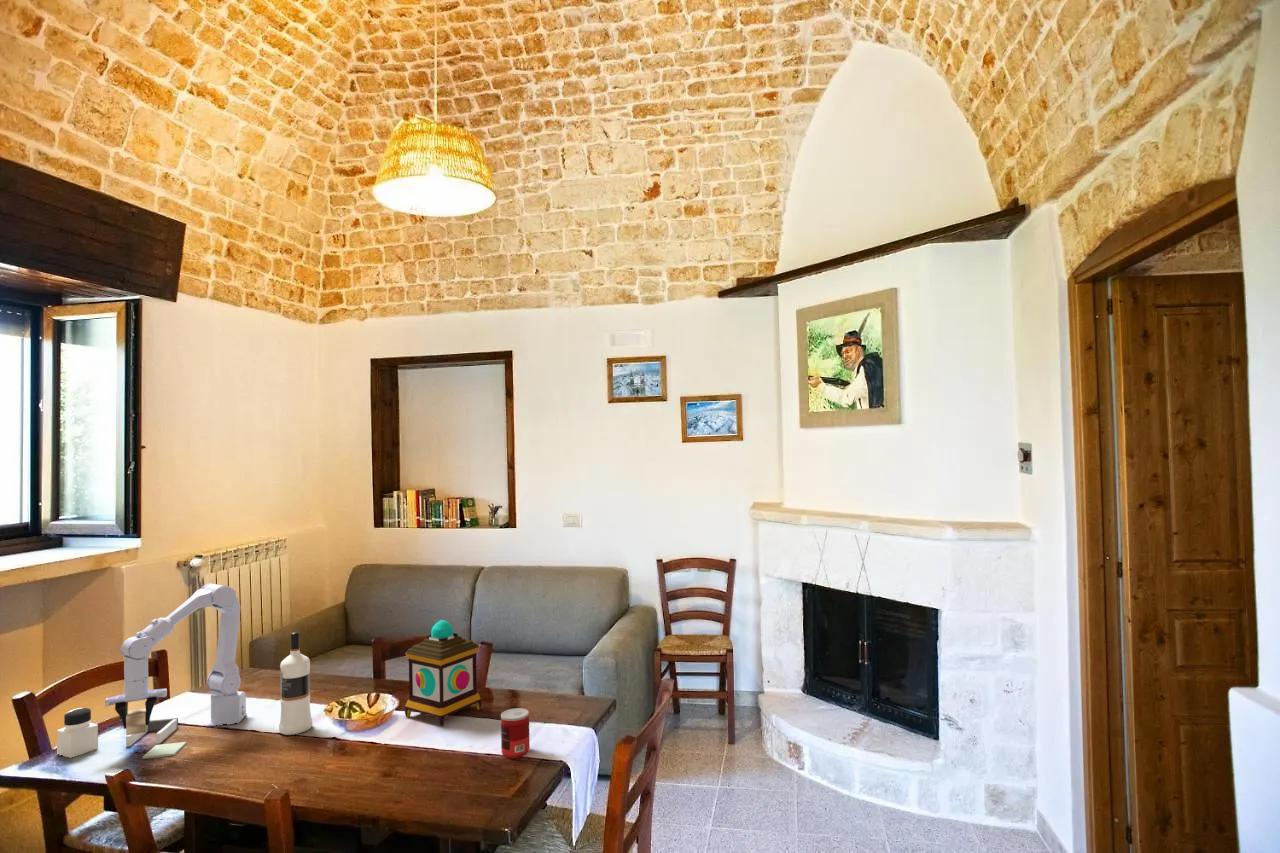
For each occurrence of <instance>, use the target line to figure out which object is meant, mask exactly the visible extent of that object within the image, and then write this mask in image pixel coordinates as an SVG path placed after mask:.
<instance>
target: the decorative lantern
mask: <svg viewBox="0 0 1280 853" xmlns="http://www.w3.org/2000/svg"><path fill="white" fill-rule="evenodd" d="M430 632H431V634H430V635H427V637H426V638H424V639H423V640H422V641H420V642H419V643H417V644H414V645H412V646H411V647H410V648H408V649H407V651H405V652H404V654H405V656H406V658H407V659H408V660H407V661H408V690H409V691H408V692H409V693H408V699H407V702H406V704H405V706H404V714H405V717H407V718H409V717H411V715H412V712H416V713H419V714H424V715H428V716H431V717H434V718H436V719H438V723H439V724H438V725H439V727H444V725H445V719H446V717H447V716H450V715H452V714H455V713H457V712H459V711H461V710H463V709H466V708H468V707H471V706H473V705H475V708H476V709H477V710H479V711H480V710H481V709H482V698H481V696H480V694H479V692H478V689H477V688H478V686H477V684H478V683H477V655H478V654H477V653H478V651H479V649H480V646H479V645H478V644H477V643H476V642H473V640H470V639H469V640H468V639H466V638H463V637H461V636H459V635H458V633H455V632H454V628H453V626H452V624H450V622H449V621H447V620H443V619H440V620H439V621H437V622H436V623H435V624H434V625H433V627H432V628H431V631H430Z"/></svg>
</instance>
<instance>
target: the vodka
mask: <svg viewBox="0 0 1280 853" xmlns="http://www.w3.org/2000/svg"><path fill="white" fill-rule="evenodd" d="M289 636H290V639H289V640H290V644H289V645H290V652H289V653H290V654H289V655H288V656H286V657H285V658H284V659H283V660H282V661H281V662H280V665H279V668H280V699H279V701H280V720H279V724H278V731H279V732H280V734H282V735H284V736H294V735H295V734H296V735H300V734H302V732H303V733H306V732H308V731H309V729H311V728H312V726H313V718H312V713H311V691H310V686H311V685H310V684H311V683H310V672H311V669H310V668H311V661H310V658H309V656H306V655H304V653H303V654H302V652H301V651H300V650H301V649H300V645H301V644H300V632H299V631H293V632H290V634H289ZM299 733H300V734H299Z"/></svg>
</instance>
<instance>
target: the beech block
mask: <svg viewBox="0 0 1280 853" xmlns="http://www.w3.org/2000/svg"><path fill="white" fill-rule="evenodd" d="M147 727H148V725H146V707H145V708H141V709H140V708H139V709H134V710H132V709H131V710H128V714H127V715H126V729H125V730H126V731H125V734H126V736H127V735H131V734H137V733H143V732H145V731H146V729H147Z"/></svg>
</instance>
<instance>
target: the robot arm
mask: <svg viewBox="0 0 1280 853" xmlns="http://www.w3.org/2000/svg"><path fill="white" fill-rule="evenodd" d="M210 607H211V608H212V607H213V608H214V609H215V610H217V611H218V612H219V613H220V620H219V629H218V637H217V647H216V657H215V662H214V664H213V665H212V666H211V668H210V672H209V675H208V677H207V679H206V687H207V688H208V689H209V690H210V720H209V721H208V722H207V723H206V724H205V727H216V725H217V726H224V725H223V724H227V725H235V724H234V723H237V724H240V722H241V721H242V720H243V719H244V718H245V717H244V716H245V715H246V714H247V698H246V696H247V695H246V692H245V691H239V690H238V689H239V688H240V687H241V684H242V679H241V677H240V668H239V667H238V665H237V663H236V656H237V655H236V654H237V646H238V644H237V643H238V639H239V629H240V628H239V627H240V618H241V611H242V610H241V608H242V607H241V603H240V601H239V599H238V597H237V590H235V589H233V588H232V587H231V586H229V585H222V584H216V583H213V582H210V583H209V582H208V583H205V584H204V585H203V586H202V587H201V588H198V589H197V590H196V591H195V592H194V593H193V594H192V595H191V596H190V597H189V598H188V599H186V600H185V601H184V602H183V603H182V604H181V605H179V606H178V607H177V608H176V609H174V610H173V611H172V612H170V614H169V615H167V616H166V617H159V618H154V619H152V620H151V621H150V624H149V625H148V626H146V627H145V628H144V629H142V630H141V631H138V632H136V633H135V636H130V637H129V638H127V639H125V640H124V641H123V642H122V644H121V647H120V648H119V652H120V654H121V655H122V656H123V662H124V663H123V675H124V677H123V678H124V679H123V681H124V682H123V683H124V684H123V685H124V688H123V689H124V693H123V694H119V695H115V696H110V697H106V698H105V699H104V706H105V707H110V706H113V705H114V710H115V712H116V713H117V714H118V715H119V718H120V719H121V722H122V726H123V730H126V715H127V714H128V712H129V710H128V709H129V703H132V702H139V701H144V700H145V702H144V705H145V708H146V725H149V723H150V721H151V716H152V712H153V708H154V707H155V704H156V702H157V699H158V698H166V697H167V696H168V689H167V687H166V688H158V689H149V655H150V654H151V653H152V650H153V648H154V647H155V646H156V645H157V644H159V643H160V642H161V641H163V640H164V639H165V638H167V637H168V636H169V635H170V634H172V633H173V631H174V630H175V625H177V624H178V623H180V622H182V620H184V619H186V618H187V617H189V616H190V615H191V614H193V613H194V612H195V611H197V610H198V609H201V608H210ZM246 716H247V715H246Z"/></svg>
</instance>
